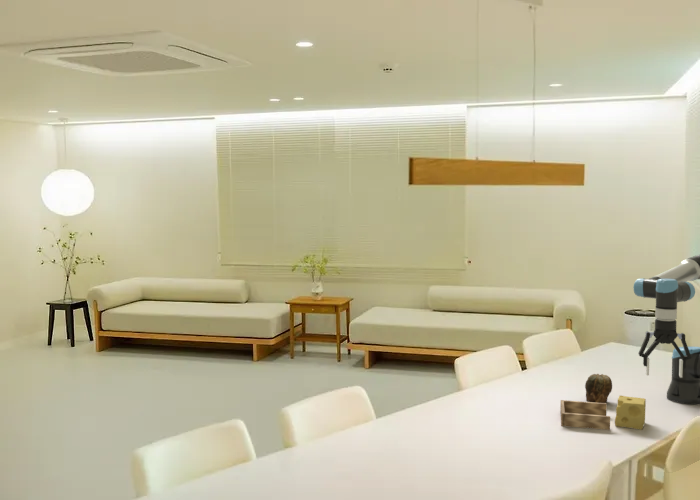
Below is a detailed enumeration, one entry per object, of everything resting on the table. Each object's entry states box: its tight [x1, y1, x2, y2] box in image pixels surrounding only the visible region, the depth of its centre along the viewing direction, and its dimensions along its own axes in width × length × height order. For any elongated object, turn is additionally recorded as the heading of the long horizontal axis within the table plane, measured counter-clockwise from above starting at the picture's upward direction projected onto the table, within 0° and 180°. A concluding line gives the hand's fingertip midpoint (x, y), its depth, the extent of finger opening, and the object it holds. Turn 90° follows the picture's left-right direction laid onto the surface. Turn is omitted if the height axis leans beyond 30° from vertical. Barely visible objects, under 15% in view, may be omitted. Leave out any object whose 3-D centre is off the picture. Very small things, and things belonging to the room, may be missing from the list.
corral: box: [559, 399, 611, 431], centre depth 279 cm, size 18×18×5 cm
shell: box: [584, 373, 613, 404], centre depth 304 cm, size 11×11×12 cm
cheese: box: [614, 395, 647, 431], centre depth 274 cm, size 10×11×10 cm
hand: (663, 375), depth 270 cm, fingers open, 11 cm apart
